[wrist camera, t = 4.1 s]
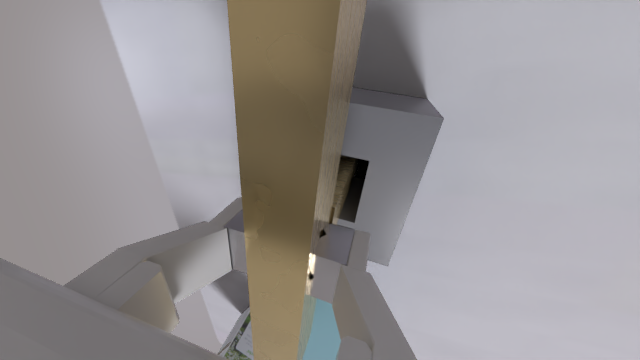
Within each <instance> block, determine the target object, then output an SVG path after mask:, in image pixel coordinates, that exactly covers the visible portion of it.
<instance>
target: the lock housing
mask: <svg viewBox="0 0 640 360" xmlns="http://www.w3.org/2000/svg"><path fill="white" fill-rule="evenodd" d="M443 120H444V118H443V117H442V116H441V114H440V113H439V112H438V111H437V110H436V109H435V107H434V106H433V105H432V104H431V103H430V101H429V100H428V99H424V98H418V97H411V96H405V95H398V94H392V93H385V92H379V91H372V90H366V89H359V88H353V87H352V92H351V98H350V104H349V110H348V116H347V122H346V128H345V133H344V139H343V145H342V151H341V155H344V156H349V157H354V158H358V159H363V160H367V161H369V165H368V169H367V173H366V177H365V179H361V178H357V177H353V180H352V183H351V186H350V189H349V191H348V194H347V197H346V200H345V202H344V205H343V208H342V211H341V214H340V216H339V219H338V222H337V225H340V226H344V227H348V228H351V229H355V230H360V231H364V232H368V233H370V234H371V237H370V244H369V251H368V259H367V260H369V261H372V262H375V263H379V264H382V265H385V266H388V265H389V262H390V259H391V257H392V254H393V251H394V249H395V246H396V244H397V241H398V238H399V236H400V233H401V230H402V228H403V225H404V222H405V220H406V217H407V215H408V212H409V209H410V207H411V204H412V201H413V199H414V196H415V193H416V191H417V188H418V186H419V183H420V180H421V178H422V175H423V172H424V170H425V167H426V164H427V162H428V159H429V157H430V154H431V151H432V149H433V146H434V143H435V141H436V138H437V135H438V133H439V130H440V128H441V125H442V122H443Z"/></svg>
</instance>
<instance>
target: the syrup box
mask: <svg viewBox="0 0 640 360" xmlns="http://www.w3.org/2000/svg"><path fill="white" fill-rule="evenodd" d="M218 355H220V356H222V357H225V358H227V359H229V360H254V356H253V343H252V329H251V316H250V307H249V308H248V309H247V310H246V311H245V312H244V313H243V314H242V315H240V317H239V318H238V320H237V322H236V323H235V325H234V327H233V329H232V330H231V332H230V334H229V336H228V337H227V339H226V341H225V342H224V344H223V346H222V347H221V349H220V351H219V352H218Z"/></svg>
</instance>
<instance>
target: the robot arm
mask: <svg viewBox="0 0 640 360" xmlns="http://www.w3.org/2000/svg"><path fill="white" fill-rule="evenodd" d="M370 237H371V234H370V233H368V232H364V231H360V230H355V229H351V228H348V227H344V226H340V225H337V224H333V223H329V222H327V223H326V224H325V227H324V229H323V236H322V237H321V238H319V241H318V243H317V245H316V248H315V250H314V252H313V255H312V263H311V270H310V271H311V273H312V275H311V277H310V280H309V286H308V293H307V295H310V296H312V297H315V298H318V299H320V300H323V301H325V302H328V303H331V304H332V308H333V312H334V316H335V320H336V323H337V327H338V331H339V335H340V339H341V343H340V346H339V349H338V352H337V356H336V359H335V360H417V359H416V357H415V355H414V353H413V351H412V349H411V348H410V346H409V344H408V342H407V340H406V338H405V337H404V335H403V333H402V331H401V329H400V327H399V325H398V324H397V322H396V320H395V318H394V316H393V314H392V312H391V311H390V309H389V307H388V305H387V303H386V301H385V299H384V298H383V296H382V294H381V292H380V290H379V288H378V286H377V285H376V283H375V281H374V279H373V277H372V275H371V274H370V273H367V272H366V266H367V259H368V251H369V244H370ZM232 269H234V270H237V271H240V272H244V273H247V262H246V248H245V234H244V221H243V207H242V197H240V198H237V199H236V200H234V201H233V202H232V203H231V204H230V205H229V206H227V207H226V208H225V209H224V210H223V211H222V212H220V213H219V214H218V215H217V216H216V217H215V218H213V219H212V220H211V221H210V222H209V223H208V222H201V223H198V224H195V225H192V226H188V227H185V228H182V229H179V230H176V231H172V232H169V233H166V234H163V235H159V236H156V237H153V238H150V239H147V240H143V241H140V242H137V243H134V244H130V245H127V246H124V247H121V248H118V249H117V250H116V251H114V252H113V253H111V254H110V255H108V256H107V257H105V258H104V259H102V260H101V261H99V262H98V263H96V264H95V265H93V266H92V267H90V268H89V269H87V270H86V271H84V272H83V273H81V274H80V275H78V276H77V277H76V278H74V279H73V280H71V281H70V282H68V283H67V284H65V285H64V286H62V285H60V284H58V283H56V282H53V281H51V280H49V279H47V278H44V277H42V276H40V275H38V274H35V273H33V272H31V271H29V270H26V269H24V268H22V267H20V266H17V265H15V264H13V263H11V262H8V261H6V260H4V259H2V258H0V360H229V359H227V358H225V357H222V356H220V355H218V354H216V353H213V352H211V351H209V350H207V349H204V348H202V347H200V346H198V345H195V344H193V343H191V342H188V341H186V340H184V339H182V338H180V337H177V336H175V335H173V334H171V332H172V331H173V330H174V328H175V327H176V326H177V324H178V323H179V316H178V313H177V310H176V307H175V304H176V303H178V302H179V301H181V300H183V299H184V298H186V297H188V296H189V295H191V294H193V293H195V292H196V291H198V290H200V289H201V288H203V287H205V286H206V285H208V284H210V283H211V282H213V281H215V280H216V279H218V278H220V277H222V276H223V275H225V274H227V273H228V272H230V271H232Z"/></svg>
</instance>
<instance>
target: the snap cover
mask: <svg viewBox="0 0 640 360" xmlns="http://www.w3.org/2000/svg"><path fill="white" fill-rule="evenodd" d="M340 343H341V339H340V335H339V331H338V327H337V323H336V320H335V316H334V312H333V308H332V304H331V303H328V302H325V301H323V300H320V299H318V298H317V300H316V306H315V312H314V318H313V324H312V330H311V334H310V337H309V340H308V343H307V347H306V350H305V353H304V356H303V359H302V360H335V359H336V356H337V352H338V349H339V346H340Z"/></svg>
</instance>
